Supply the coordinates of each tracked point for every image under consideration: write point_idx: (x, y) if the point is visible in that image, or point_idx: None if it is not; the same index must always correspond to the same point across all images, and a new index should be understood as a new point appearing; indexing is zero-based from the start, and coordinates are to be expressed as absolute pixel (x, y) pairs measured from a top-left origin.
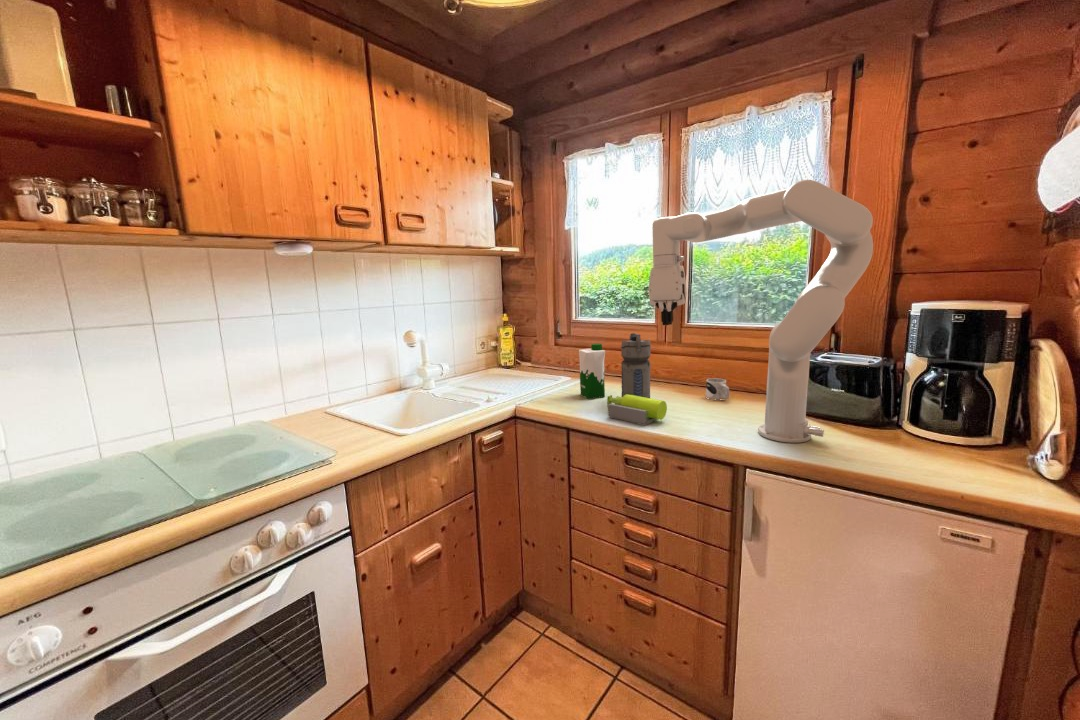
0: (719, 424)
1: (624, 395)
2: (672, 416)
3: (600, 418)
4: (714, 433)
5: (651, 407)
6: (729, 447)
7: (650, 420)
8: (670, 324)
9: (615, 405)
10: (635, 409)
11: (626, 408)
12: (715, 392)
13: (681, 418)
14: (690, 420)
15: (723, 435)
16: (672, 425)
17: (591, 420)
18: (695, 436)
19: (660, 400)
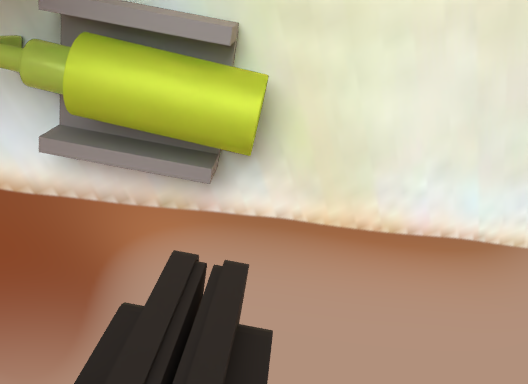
0: (475, 29)
1: (63, 95)
2: (278, 4)
3: None
4: (459, 141)
5: (221, 148)
6: (506, 242)
7: None
8: (242, 300)
9: (71, 153)
10: (167, 174)
11: (127, 167)
12: None
13: (319, 15)
14: (359, 27)
15: (490, 148)
16: (306, 118)
17: (29, 184)
18: (401, 194)
19: (245, 119)
